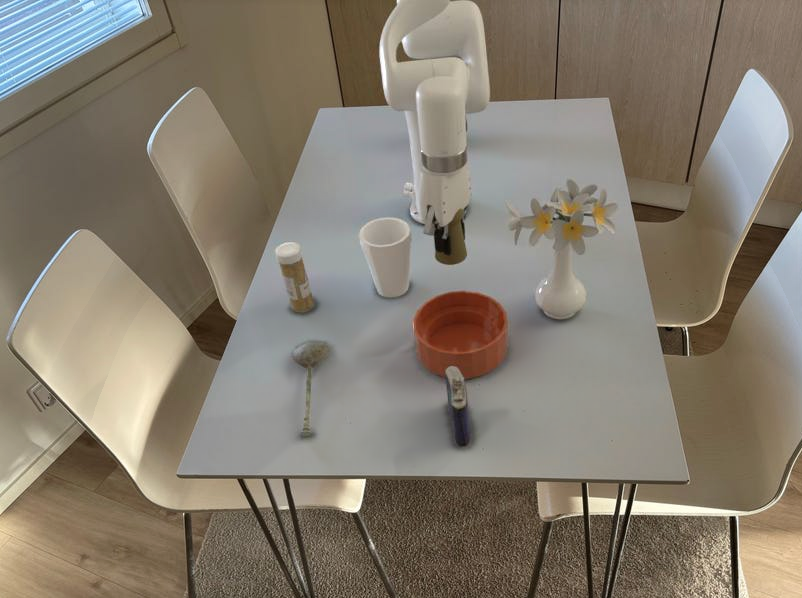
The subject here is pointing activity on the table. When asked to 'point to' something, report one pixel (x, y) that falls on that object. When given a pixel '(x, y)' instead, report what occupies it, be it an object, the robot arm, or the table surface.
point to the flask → (458, 405)
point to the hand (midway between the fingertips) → (450, 244)
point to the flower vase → (564, 242)
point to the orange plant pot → (461, 333)
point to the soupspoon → (309, 371)
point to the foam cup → (387, 254)
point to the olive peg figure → (454, 242)
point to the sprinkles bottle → (295, 276)
